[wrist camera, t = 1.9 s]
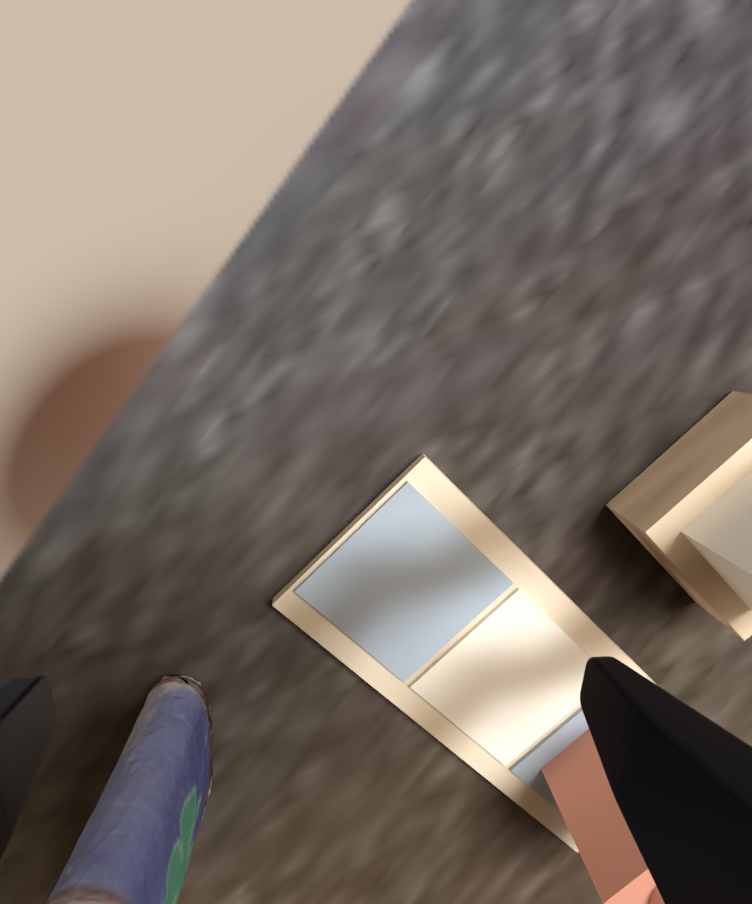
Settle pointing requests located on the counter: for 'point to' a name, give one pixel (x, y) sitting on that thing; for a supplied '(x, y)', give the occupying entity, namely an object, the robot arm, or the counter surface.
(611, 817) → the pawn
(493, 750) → the board
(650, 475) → the block
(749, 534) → the die
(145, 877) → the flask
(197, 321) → the counter surface
